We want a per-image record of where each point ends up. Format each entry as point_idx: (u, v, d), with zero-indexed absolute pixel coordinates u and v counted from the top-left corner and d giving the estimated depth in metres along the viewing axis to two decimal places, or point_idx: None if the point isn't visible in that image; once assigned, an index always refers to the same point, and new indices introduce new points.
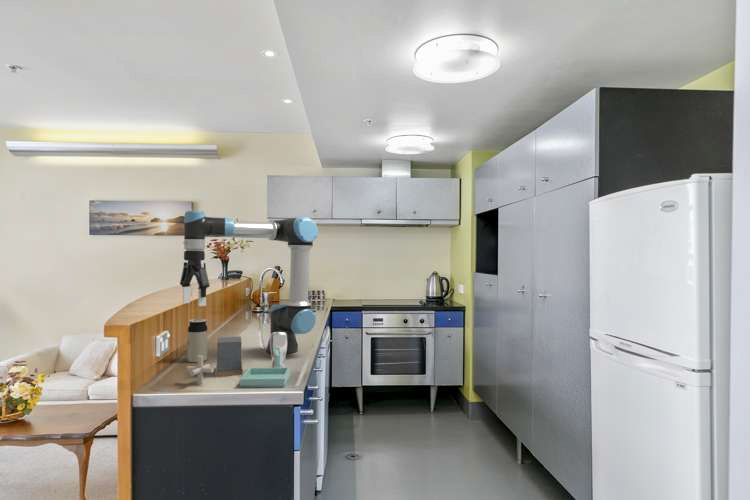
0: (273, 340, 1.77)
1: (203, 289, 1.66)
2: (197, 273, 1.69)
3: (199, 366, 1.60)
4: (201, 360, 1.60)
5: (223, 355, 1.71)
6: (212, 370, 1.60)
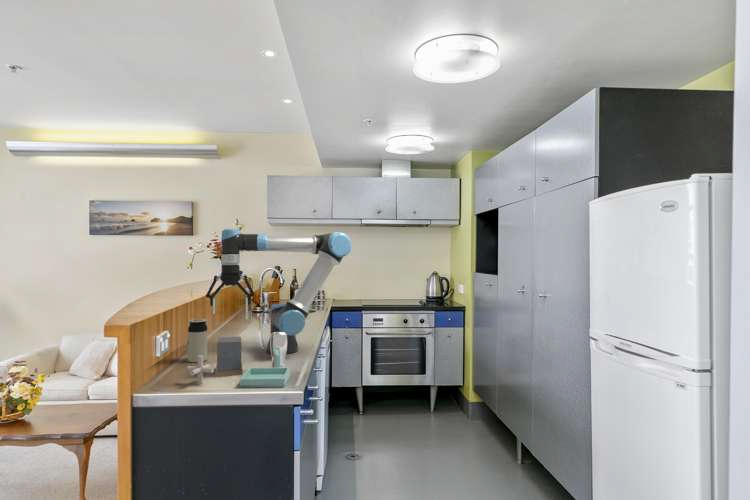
0: (273, 340, 1.77)
1: (250, 297, 1.94)
2: (240, 284, 1.93)
3: (199, 366, 1.60)
4: (201, 360, 1.60)
5: (223, 355, 1.71)
6: (212, 370, 1.60)
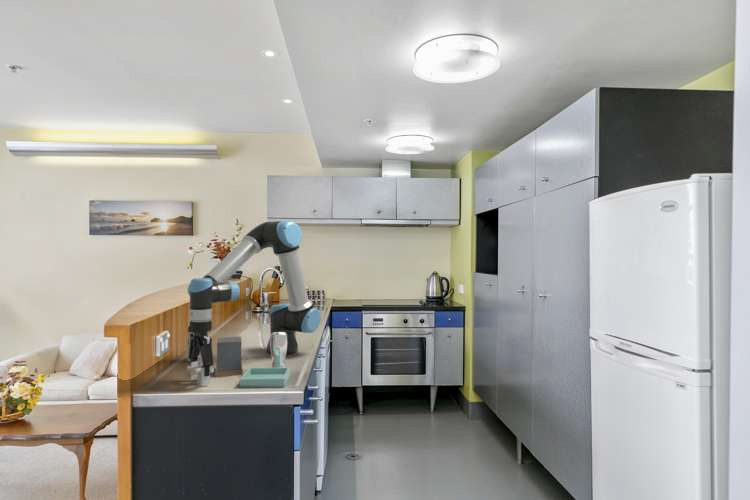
0: (273, 340, 1.77)
1: (206, 368, 1.56)
2: (202, 348, 1.58)
3: (199, 366, 1.60)
4: (201, 360, 1.60)
5: (223, 355, 1.71)
6: (212, 370, 1.60)
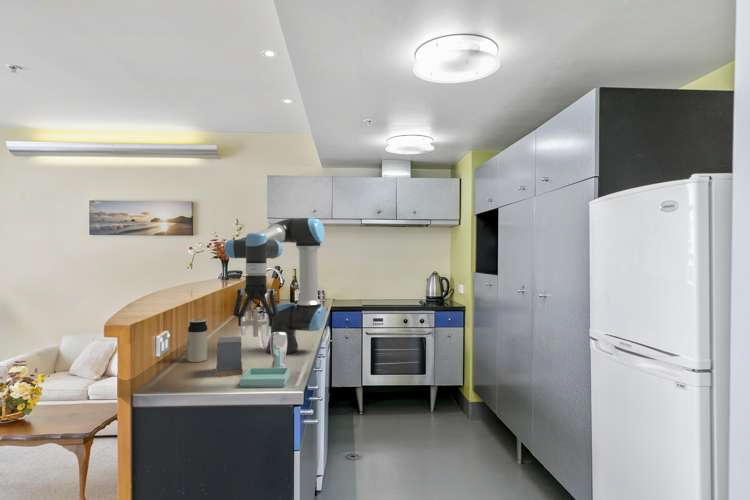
0: (273, 340, 1.77)
1: (272, 318, 1.63)
2: (264, 300, 1.63)
3: (256, 319, 1.63)
4: (257, 313, 1.64)
5: (223, 355, 1.71)
6: None
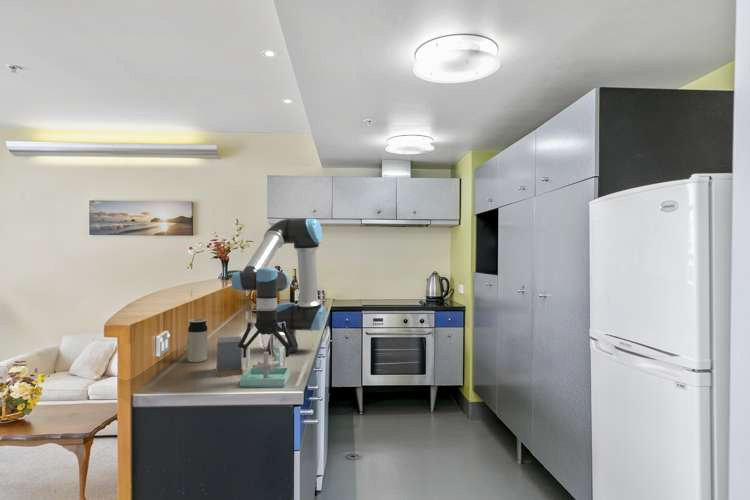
0: (273, 340, 1.77)
1: (289, 348, 1.64)
2: (277, 333, 1.64)
3: (267, 362, 1.63)
4: (268, 356, 1.64)
5: (223, 355, 1.71)
6: None
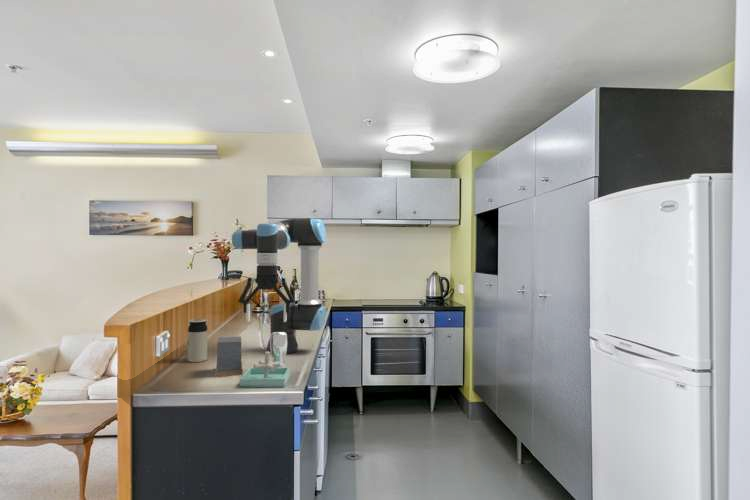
0: (273, 340, 1.77)
1: (289, 304, 1.64)
2: (277, 288, 1.64)
3: (268, 362, 1.63)
4: (269, 356, 1.64)
5: (223, 355, 1.71)
6: None
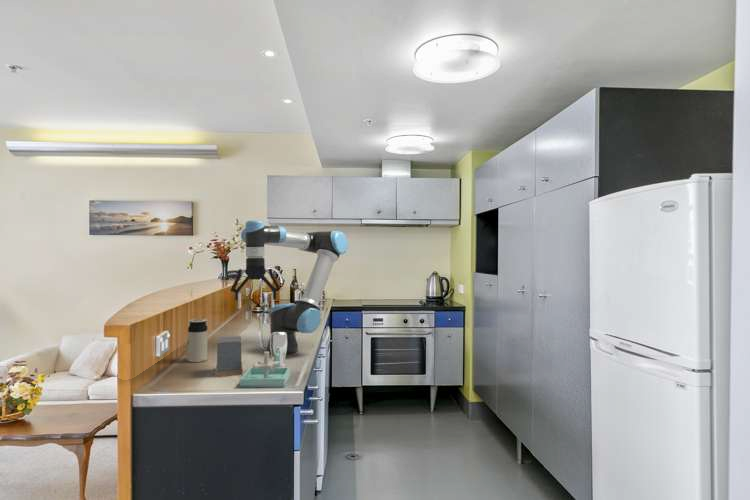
0: (273, 340, 1.77)
1: None
2: (265, 278, 1.85)
3: (267, 362, 1.63)
4: (268, 356, 1.64)
5: (223, 355, 1.71)
6: None
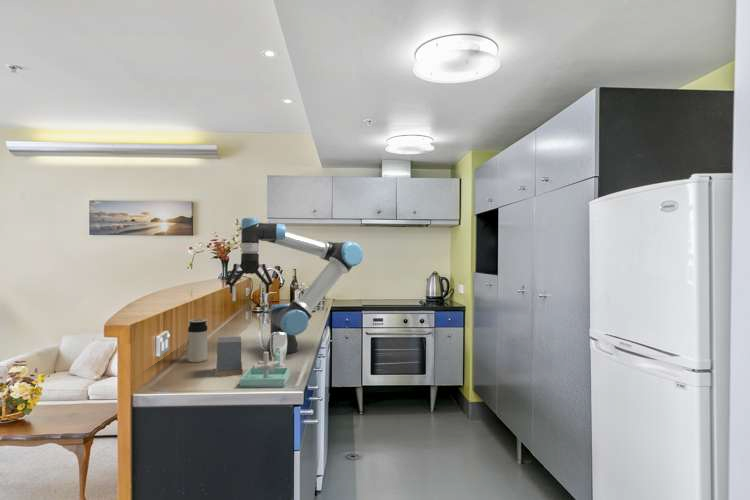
0: (273, 340, 1.77)
1: (268, 286, 1.94)
2: (259, 273, 1.94)
3: (267, 362, 1.63)
4: (268, 356, 1.64)
5: (223, 355, 1.71)
6: None
